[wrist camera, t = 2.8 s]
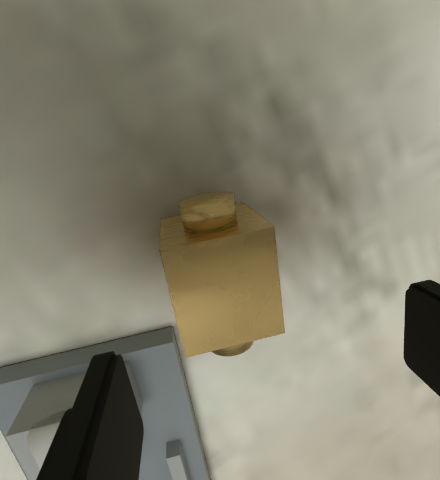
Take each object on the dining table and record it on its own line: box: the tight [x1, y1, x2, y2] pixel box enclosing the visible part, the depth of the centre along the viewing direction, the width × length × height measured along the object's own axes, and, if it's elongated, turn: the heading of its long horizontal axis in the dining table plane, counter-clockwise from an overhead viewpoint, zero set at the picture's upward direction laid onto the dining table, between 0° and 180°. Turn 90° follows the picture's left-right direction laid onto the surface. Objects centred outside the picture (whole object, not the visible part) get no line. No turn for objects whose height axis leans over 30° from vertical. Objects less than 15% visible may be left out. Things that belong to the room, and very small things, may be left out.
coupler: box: [160, 192, 285, 358], centre depth 15 cm, size 7×4×5 cm, turn 9°
